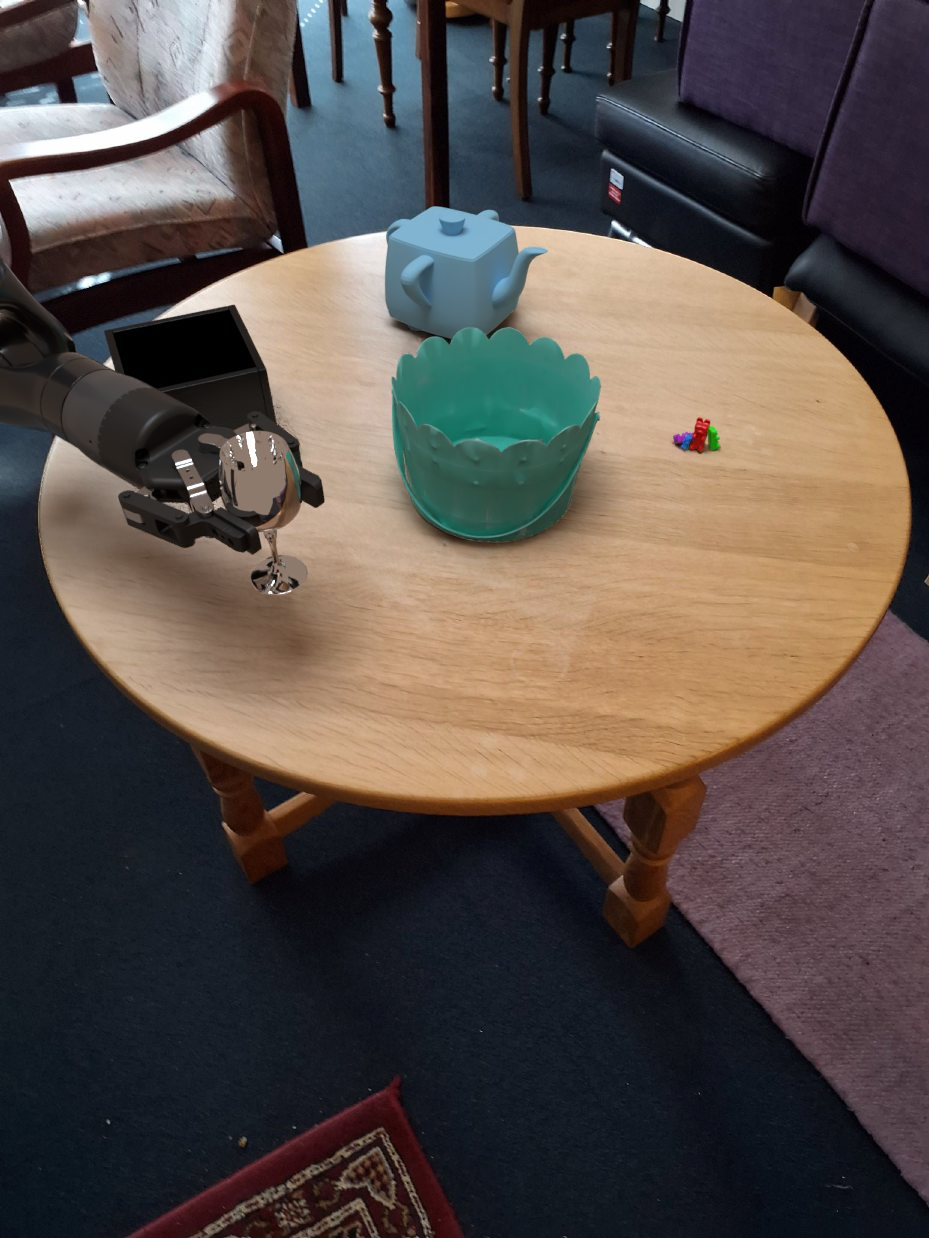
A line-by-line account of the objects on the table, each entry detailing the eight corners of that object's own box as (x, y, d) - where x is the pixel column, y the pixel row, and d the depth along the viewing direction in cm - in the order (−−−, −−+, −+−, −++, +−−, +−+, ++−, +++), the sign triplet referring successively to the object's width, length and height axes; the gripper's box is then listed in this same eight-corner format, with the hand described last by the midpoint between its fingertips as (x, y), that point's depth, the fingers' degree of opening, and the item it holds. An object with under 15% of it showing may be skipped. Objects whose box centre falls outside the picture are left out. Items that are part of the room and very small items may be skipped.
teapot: (392, 360, 107) (384, 251, 97) (383, 293, 118) (375, 188, 108) (541, 350, 109) (549, 241, 99) (519, 284, 120) (524, 180, 110)
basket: (612, 467, 93) (629, 357, 84) (538, 576, 83) (547, 464, 73) (452, 416, 99) (450, 309, 90) (363, 512, 89) (351, 401, 79)
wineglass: (227, 589, 69) (194, 465, 60) (266, 542, 73) (239, 418, 64) (293, 610, 68) (269, 486, 59) (329, 561, 71) (311, 437, 62)
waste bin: (153, 490, 91) (123, 400, 83) (132, 418, 100) (103, 330, 92) (283, 458, 95) (266, 369, 87) (252, 391, 103) (234, 304, 95)
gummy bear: (669, 447, 96) (674, 419, 93) (676, 433, 97) (681, 406, 95) (715, 459, 94) (722, 431, 92) (721, 445, 96) (728, 417, 93)
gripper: (42, 436, 64) (201, 532, 57) (196, 351, 72) (353, 427, 65) (75, 515, 69) (224, 612, 63) (215, 429, 77) (361, 507, 70)
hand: (289, 518), depth 64 cm, fingers closed on wineglass, 5 cm apart
